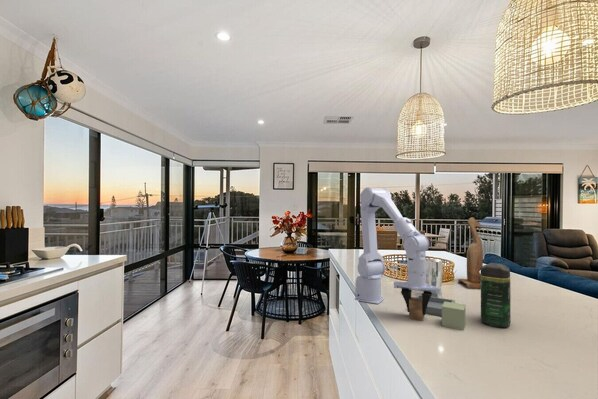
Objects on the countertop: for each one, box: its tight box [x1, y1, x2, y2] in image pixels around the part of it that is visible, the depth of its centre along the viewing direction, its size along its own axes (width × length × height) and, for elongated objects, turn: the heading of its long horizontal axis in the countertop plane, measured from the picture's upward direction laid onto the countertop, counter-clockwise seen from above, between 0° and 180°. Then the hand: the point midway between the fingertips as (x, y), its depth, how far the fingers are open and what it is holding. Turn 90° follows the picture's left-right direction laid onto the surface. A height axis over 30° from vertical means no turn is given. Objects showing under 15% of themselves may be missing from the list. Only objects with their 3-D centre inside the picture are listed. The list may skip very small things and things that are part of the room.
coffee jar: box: [480, 262, 512, 328], centre depth 96 cm, size 10×8×19 cm
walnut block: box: [408, 296, 426, 322], centre depth 100 cm, size 4×4×6 cm
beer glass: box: [426, 258, 444, 298], centre depth 123 cm, size 7×7×15 cm
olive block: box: [441, 301, 467, 331], centre depth 94 cm, size 6×6×6 cm
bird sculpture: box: [457, 216, 484, 290], centre depth 140 cm, size 11×12×32 cm
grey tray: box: [415, 294, 456, 317], centre depth 109 cm, size 13×13×2 cm
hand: (416, 312), depth 100 cm, fingers closed on walnut block, 4 cm apart
